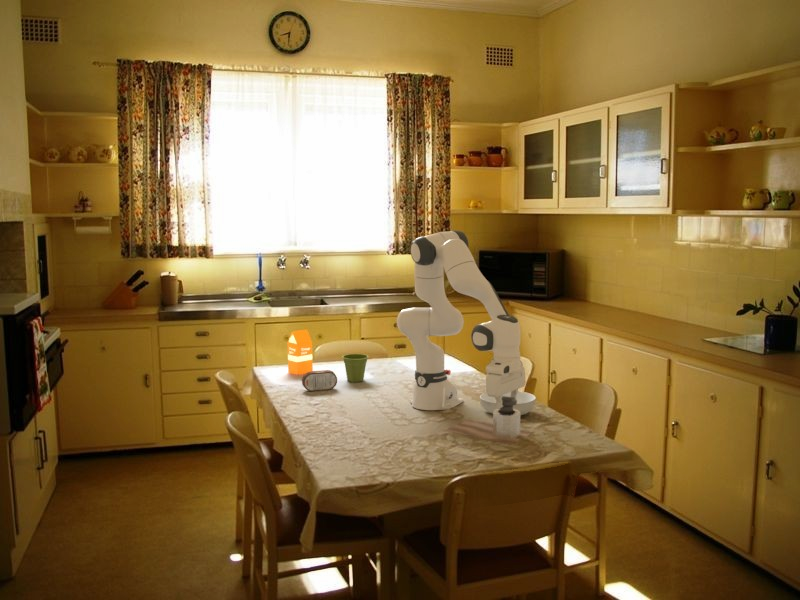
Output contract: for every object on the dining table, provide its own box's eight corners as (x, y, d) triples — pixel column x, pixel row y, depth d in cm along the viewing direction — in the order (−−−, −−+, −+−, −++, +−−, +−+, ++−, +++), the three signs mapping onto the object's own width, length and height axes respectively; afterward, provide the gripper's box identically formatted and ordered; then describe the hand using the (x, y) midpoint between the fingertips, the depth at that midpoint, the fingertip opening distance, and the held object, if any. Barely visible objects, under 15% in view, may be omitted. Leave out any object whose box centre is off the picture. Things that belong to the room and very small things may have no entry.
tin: (336, 388, 326) (336, 368, 325) (338, 389, 323) (337, 370, 322) (302, 391, 321) (301, 371, 320) (303, 392, 318) (303, 373, 317)
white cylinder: (501, 429, 259) (501, 406, 258) (524, 434, 254) (525, 410, 252) (487, 435, 252) (488, 412, 251) (511, 440, 246) (511, 417, 245)
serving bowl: (524, 405, 295) (524, 388, 294) (543, 420, 275) (544, 402, 274) (473, 408, 292) (473, 391, 291) (488, 423, 271) (488, 405, 270)
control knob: (502, 408, 256) (502, 393, 256) (520, 411, 252) (520, 396, 252) (492, 412, 251) (492, 397, 250) (510, 415, 247) (510, 400, 246)
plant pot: (344, 384, 332) (344, 359, 330) (340, 378, 343) (340, 354, 342) (371, 382, 334) (370, 358, 333) (366, 377, 346) (365, 353, 344)
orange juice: (288, 372, 357) (287, 330, 354) (303, 369, 363) (302, 328, 360) (297, 374, 351) (296, 332, 349) (313, 371, 357) (312, 330, 355)
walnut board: (469, 423, 271) (469, 419, 271) (533, 436, 256) (533, 432, 255) (443, 434, 259) (443, 430, 259) (510, 448, 243) (510, 444, 243)
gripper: (514, 358, 260) (513, 397, 261) (482, 368, 244) (482, 409, 245) (530, 360, 256) (529, 399, 257) (499, 370, 240) (499, 412, 241)
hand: (506, 404), depth 251 cm, fingers closed on control knob, 7 cm apart
